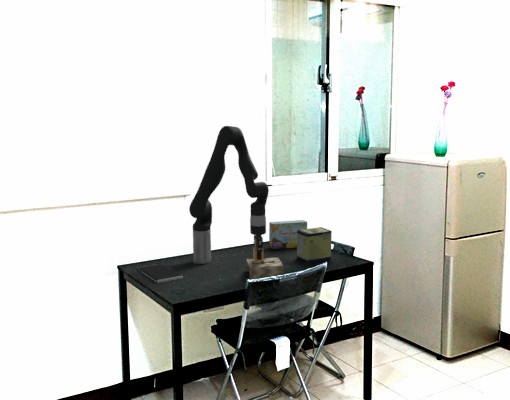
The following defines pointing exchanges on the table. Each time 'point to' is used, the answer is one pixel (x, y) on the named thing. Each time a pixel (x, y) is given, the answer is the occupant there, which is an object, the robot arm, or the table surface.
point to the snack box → (285, 233)
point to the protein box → (313, 244)
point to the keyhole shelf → (264, 268)
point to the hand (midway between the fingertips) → (258, 258)
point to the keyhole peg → (256, 255)
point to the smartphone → (160, 273)
